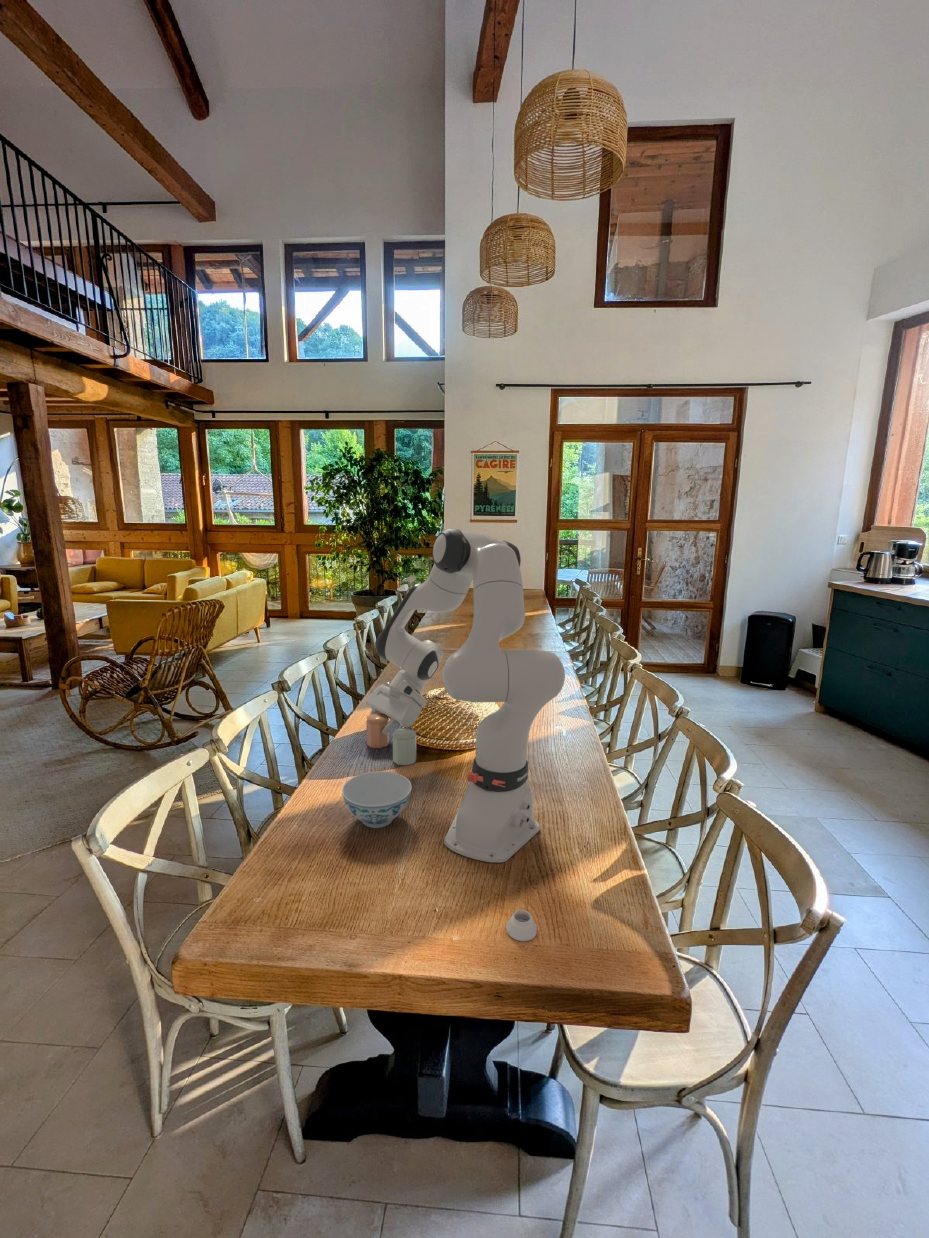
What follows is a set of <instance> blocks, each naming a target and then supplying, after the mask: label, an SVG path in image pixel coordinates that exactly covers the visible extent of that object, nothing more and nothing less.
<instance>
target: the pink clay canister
mask: <svg viewBox="0 0 929 1238" xmlns="http://www.w3.org/2000/svg"><path fill="white" fill-rule="evenodd" d="M389 721H390V719H389V718H388V716H387V715H385V714H371V715H370V714H369V715H367V716H366V721H365V724H366V725H365V726H366V746H368V747H369V748H371V749H381V748H384V747H387V746H388V745H389V743H390V731H389V732H388V734H387V735H385V734H383V733H382V732H381V731H380V730H381V729H382V727H383V726H386V725H387V724H389V723H390V722H389Z"/></svg>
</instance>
